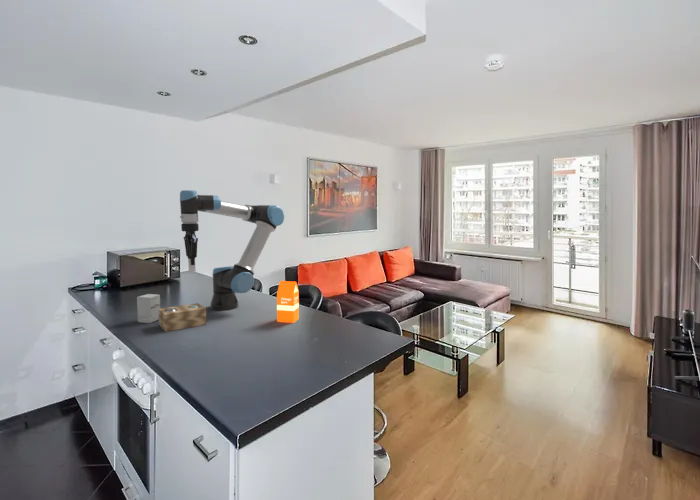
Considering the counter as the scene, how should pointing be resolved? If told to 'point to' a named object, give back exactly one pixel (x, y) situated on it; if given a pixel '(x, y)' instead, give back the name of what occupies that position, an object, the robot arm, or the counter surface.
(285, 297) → the orange juice
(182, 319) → the oak socket block
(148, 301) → the supplement box
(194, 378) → the counter surface
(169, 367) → the counter surface
